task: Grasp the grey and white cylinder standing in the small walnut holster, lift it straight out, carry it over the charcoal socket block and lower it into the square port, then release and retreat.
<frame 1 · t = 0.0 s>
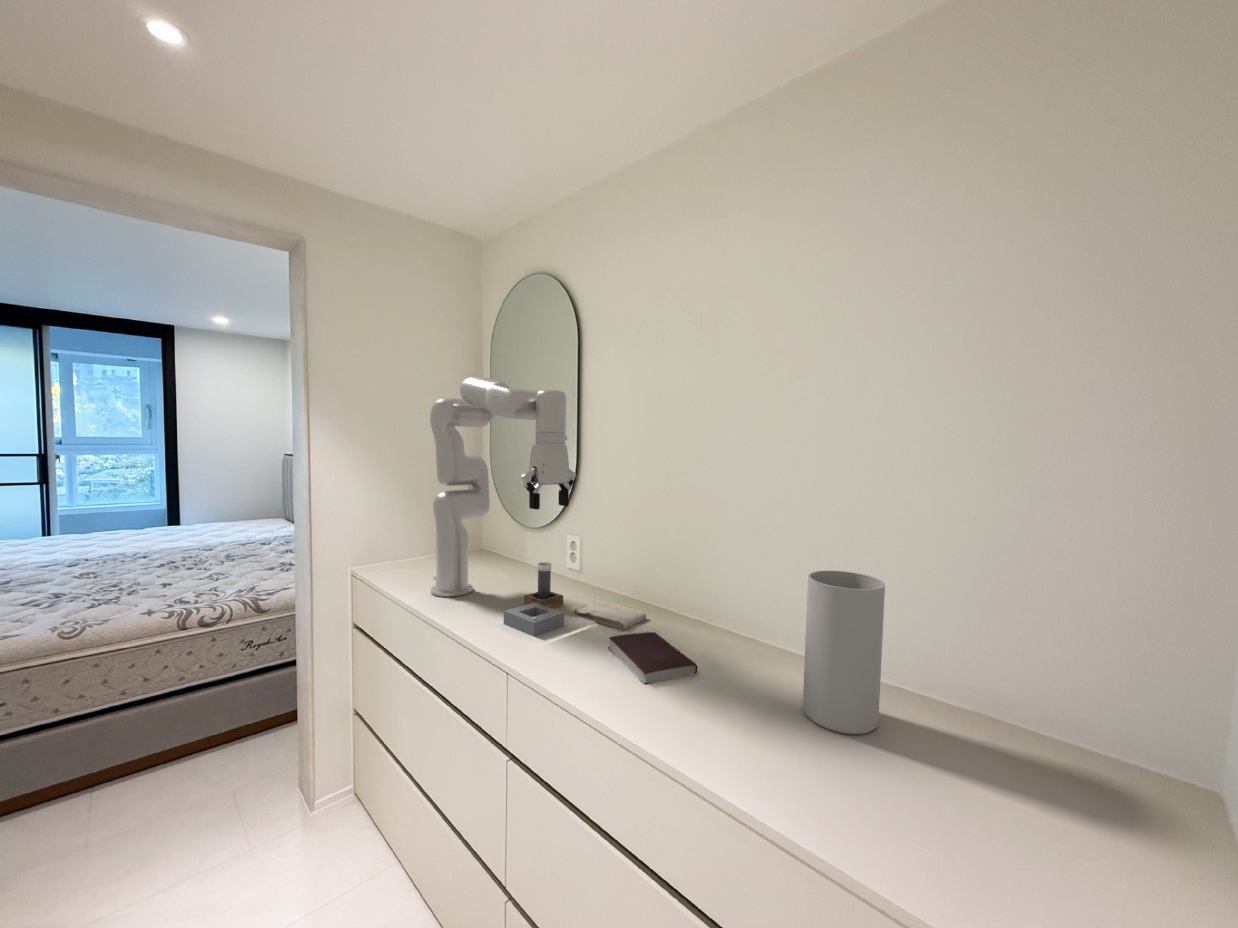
hand: (549, 507, 132), 31 cm above the dresser top, fingers open, 9 cm apart
holster: (543, 607, 149), on the dresser top
grey and white cylinder: (543, 605, 149), point 1 cm above the dresser top, touching holster
port: (533, 627, 134), on the dresser top
book: (650, 663, 115), on the dresser top
washcloth: (609, 620, 142), on the dresser top
cylinder vase: (839, 717, 93), on the dresser top
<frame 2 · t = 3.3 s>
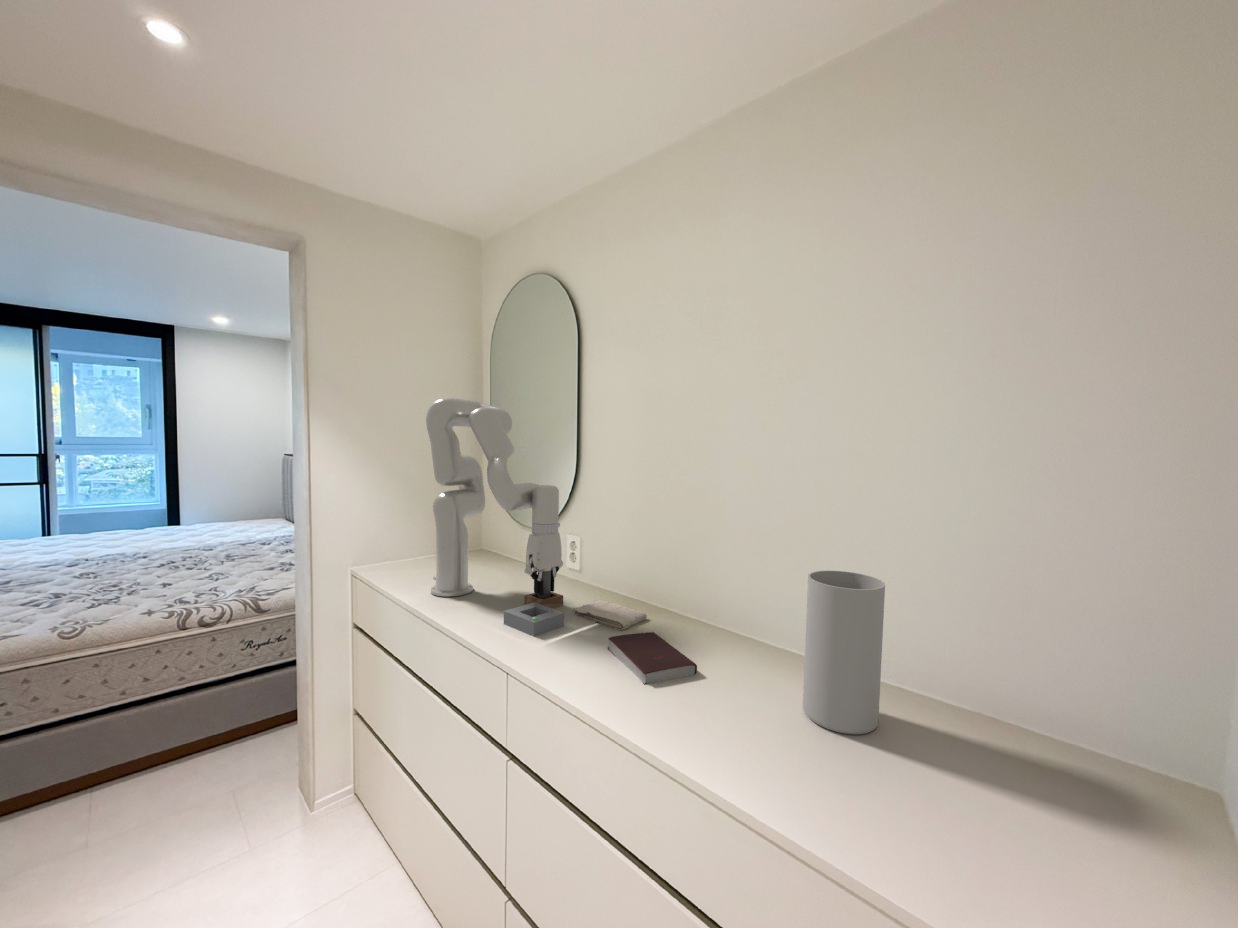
hand: (544, 591, 149), 5 cm above the dresser top, fingers closed on grey and white cylinder, 3 cm apart
grey and white cylinder: (543, 605, 149), point 1 cm above the dresser top, touching gripper, holster
everything else where it was.
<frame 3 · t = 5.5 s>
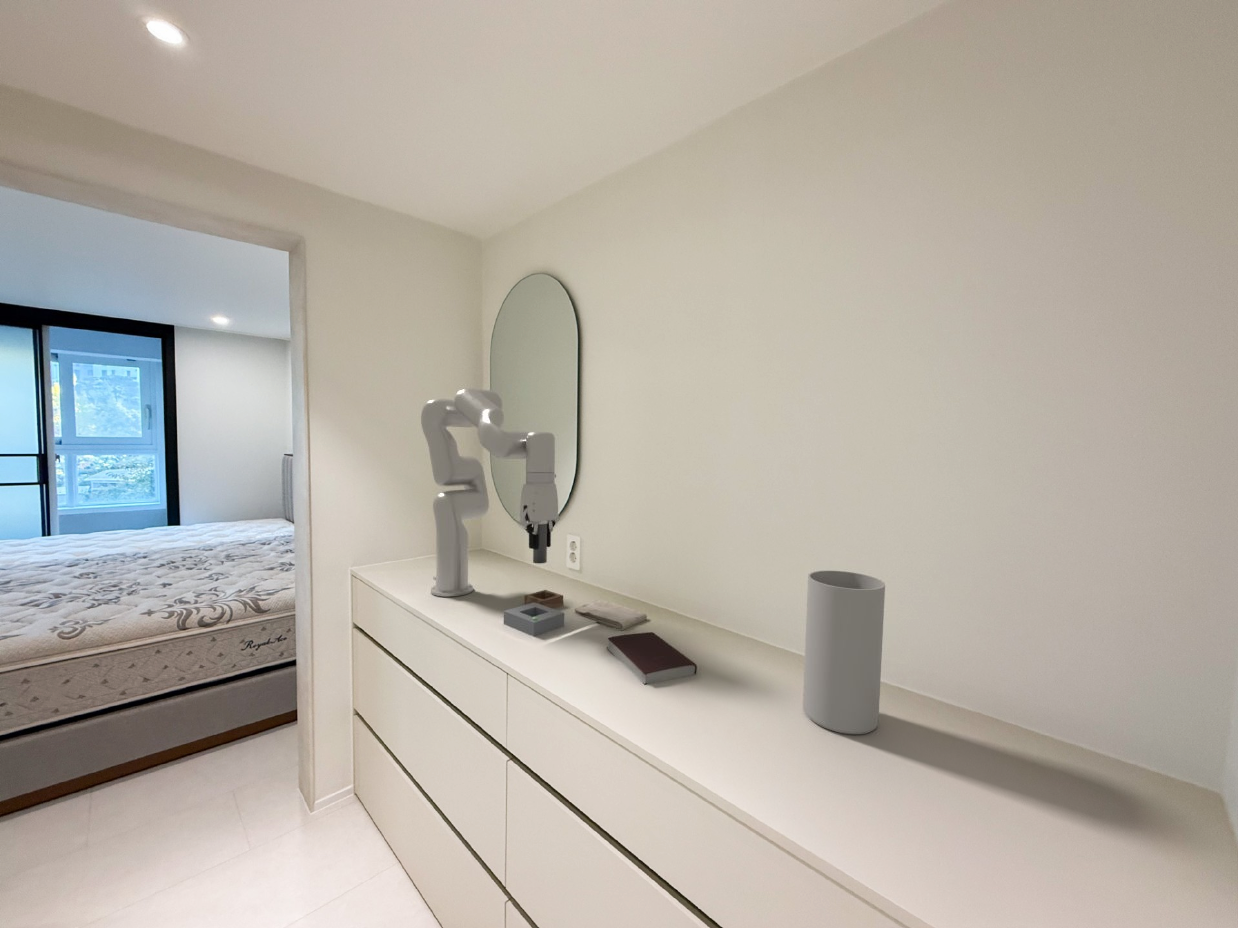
hand: (539, 546, 138), 20 cm above the dresser top, fingers closed on grey and white cylinder, 3 cm apart
grey and white cylinder: (539, 561, 138), point 16 cm above the dresser top, touching gripper
everything else where it was.
when the fingers open (6 cm above the dresser top, at t = 8.0 s): grey and white cylinder stays where it is, resting on port.
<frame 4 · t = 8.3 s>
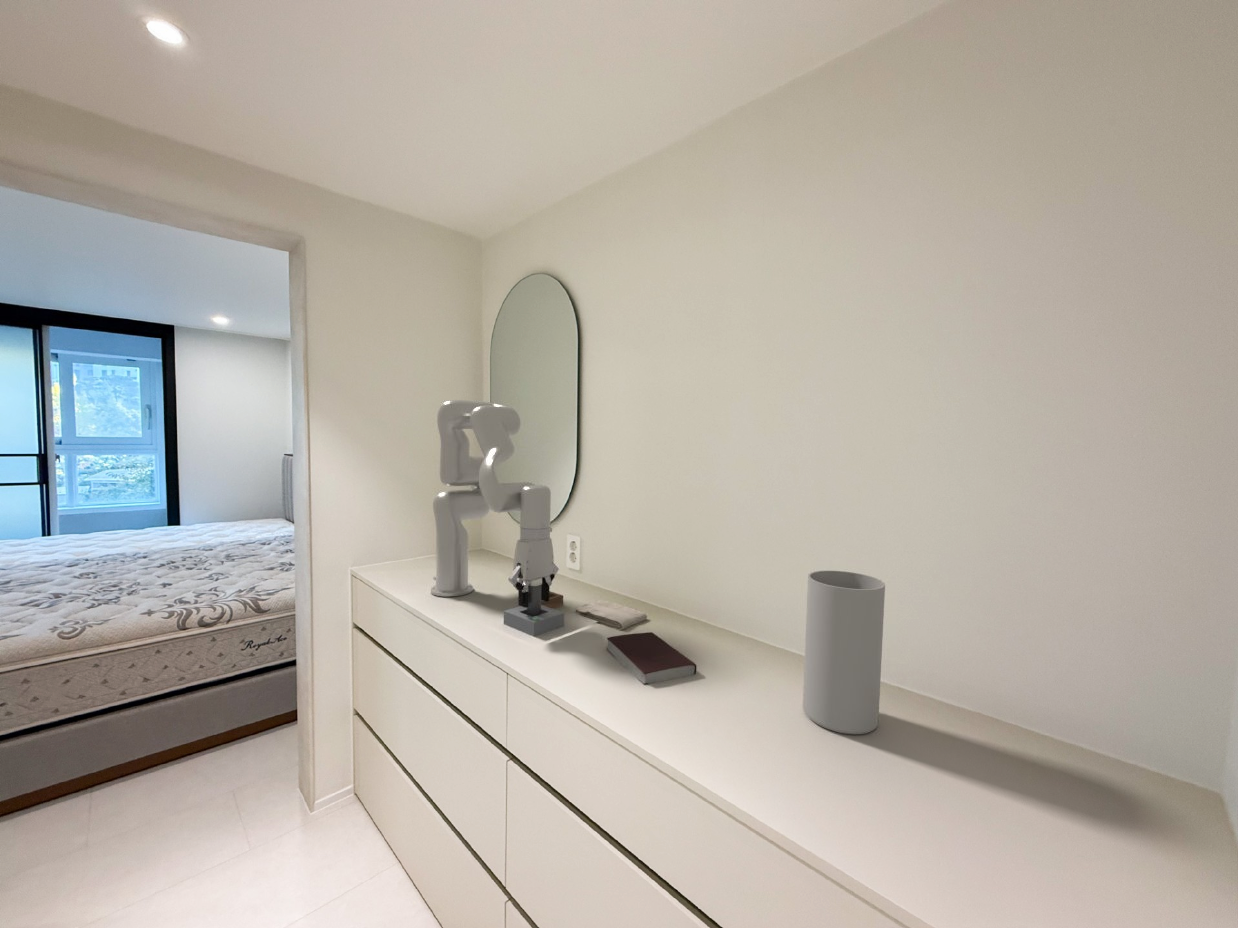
hand: (534, 602, 133), 6 cm above the dresser top, fingers open, 6 cm apart
grey and white cylinder: (533, 622, 134), point 1 cm above the dresser top, touching port
everything else where it was.
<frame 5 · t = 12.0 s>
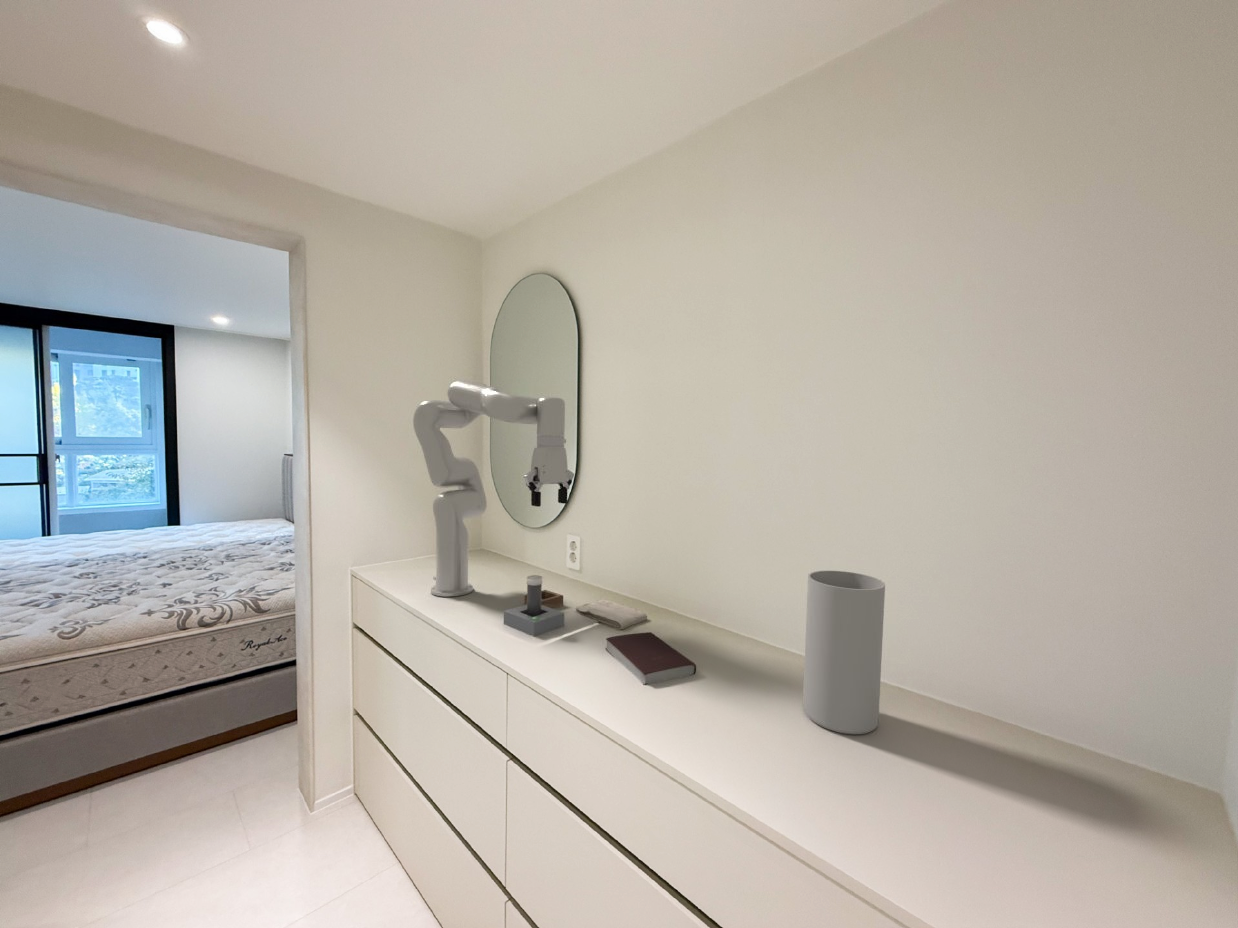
hand: (549, 504, 144), 30 cm above the dresser top, fingers open, 9 cm apart
nothing on the dresser top moved.
at the end: grey and white cylinder 0.1 cm off-centre on the port, point 1.0 cm above the port's base; grey and white cylinder tilted 0°; the gripper is holding nothing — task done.
